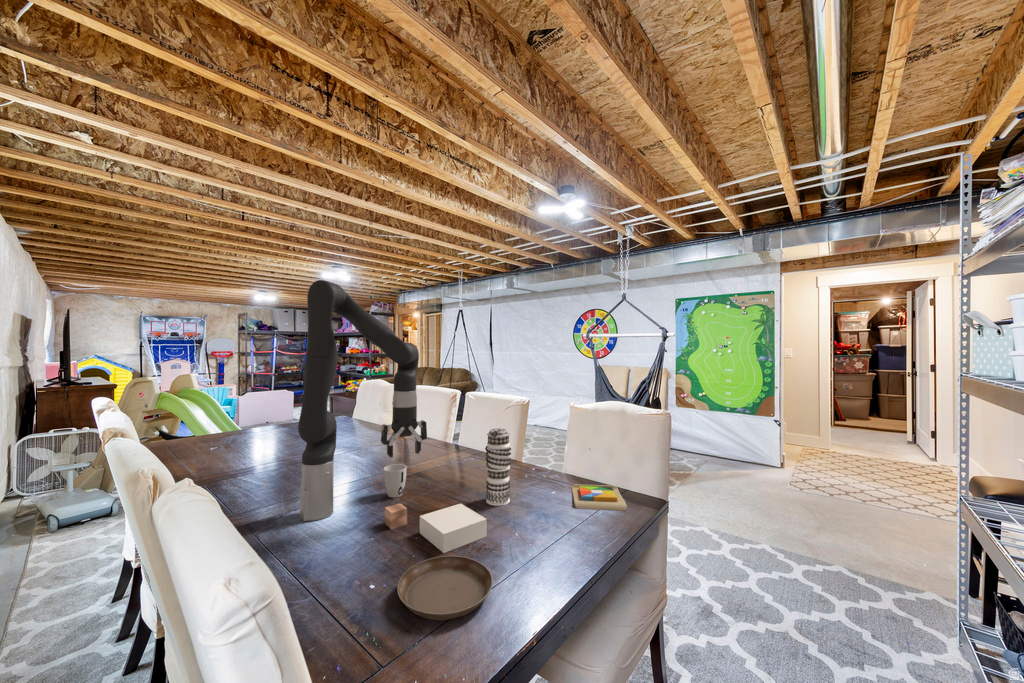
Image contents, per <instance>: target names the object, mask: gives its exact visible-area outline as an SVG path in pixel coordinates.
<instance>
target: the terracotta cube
mask: <svg viewBox="0 0 1024 683" xmlns="http://www.w3.org/2000/svg"><path fill="white" fill-rule="evenodd" d="M384 524H385V525H386V526H387V527H388V528H389V529H390V530H393V529H397V528H400V527H404V526H406V525H408V507H406V506H405V505H404V504H402V503H395V504H392V505H389V506H385V507H384Z"/></svg>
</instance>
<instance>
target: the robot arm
mask: <svg viewBox="0 0 1024 683" xmlns="http://www.w3.org/2000/svg"><path fill="white" fill-rule="evenodd" d="M306 295H307V321H308V323H307V338H306V339H307V340H306V352H305V358H304V359H305V361H304V362H305V363H304V377H303V378H304V380H303V397H302V404H301V409H300V414H299V415H300V416H299V420H298V425H297V426H298V428H297V429H298V430H297V431H298V434H299V437H300V438H301V439H302V441H303V442H304V443H306V445H305V448H304V450H303V452H302V455H301V485H300V486H299V516H300V518H301V520H302V521H303V522H308V521H319V520H323V519H326V518H329V517H330V516H331V515H333V513H334V470H335V469H334V466H335V465H334V464H335V463H334V460H335V458H334V457H335V451H336V449H337V448H336V445H337V431H338V430H337V420H336V417H335V415H334V414H333V413H332V412H331V411H328V400H329V395H330V393H331V390H332V388H333V384H334V381H335V378H336V375H337V368H338V356H339V355H338V354H339V353H338V352H339V351H338V345H337V342H336V339H335V336H334V332H333V325H332V322H333V313H335V314H337V315H338V316H341V317H342V318H343V319H345V320H346V321H348V322H349V323H351V324H352V326H353V327H354V328H355V329H356V330H357V332H359V334H360V335H361V336H363V337H364V338H365V339H366V340H368V341H369V342H371V343H372V344H373V345H375V346H376V347H378V348H379V349H380V350H381V351H382V352H383V353H384V354H385V355H386V356H387V358H388V359H390V360H391V361H393V362H394V363H396V364H397V369H396V373H395V374H394V375H393V376H394V377H393V393H392V401H391V402H392V403H391V404H392V422H391V424H386V423H383V424H382V425H381V432H380V434H381V435H380V436H381V437H380V443H381V444H383V445H385V446H386V454H387V456H388V457H389V458H391V459H392V458H393V457H394V443H395V442H396V440H398V439H399V437H400V438H404V437H411V436H412V437H413V438H414V440H415V441H414V453H415V454H417V455H418V454H420V453H421V451H422V441H423V440H427V439H428V430H427V421H425V420H423V419H422V420H420V421H418V420H417V417H418V415H417V414H418V407H417V406H418V402H417V401H418V395H417V372H418V368H419V362H420V361H419V359H420V354H419V353H420V352H419V349H418V347H417V346H416V345H415V344H413V343H411V342H405V341H404V340H402V339H401V338H400V337H398V336H397V335H396V333H395V332H394V330H392V328H390V327H389V326H387V325H386V324H385V323H383V322H382V321H381V320H379V319H378V318H376V317H375V316H373V315H372V314H371V313H369V312H368V311H367V310H365V309H364V307H362V306H360V305H359V304H358V303H357V302H356V301H355V300H354V298H352V297H351V296H350V295H349V294H348V292H346V291H345V290H344V288H342V287H341V285H339V284H337V283H334V282H331V281H327V280H324V279H319V280H316V281H314V282H313V283H312V284H311V285H310V286H309V288H308V290H307V294H306ZM417 428H420V435H419V433H417V431H416V429H417ZM390 429H391V430H392V433H391V434H390V436H389V438H388V432H390Z"/></svg>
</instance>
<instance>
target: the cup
mask: <svg viewBox="0 0 1024 683" xmlns="http://www.w3.org/2000/svg"><path fill="white" fill-rule="evenodd" d="M407 469H408V466H407V465H406V464H401V463H397V464H396V463H395V464H389V465H386V466H384V467H383V479H384V480H383V481H384V486H385V491H386V494H387V497H389V498H399V497H401V496H403V493H404V490H405V485H406V480H407Z"/></svg>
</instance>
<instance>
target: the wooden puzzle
mask: <svg viewBox="0 0 1024 683" xmlns="http://www.w3.org/2000/svg"><path fill="white" fill-rule="evenodd" d="M571 492H572V498H573V504H574V507H575V508H576V509H579V510H594V511H595V510H599V511H601V510H602V511H603V510H604V511H616V512H617V511H620V512H625V511H626V510H627V507H628V505H627V503H626V500H625V499H624V498H623V496H622V495H621V493H620V491H619V489H618V487H617V486H615V485H607V484H606V485H603V484H602V485H601V484H600V485H599V484H577V483H575V484H573V485H572V487H571Z"/></svg>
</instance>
